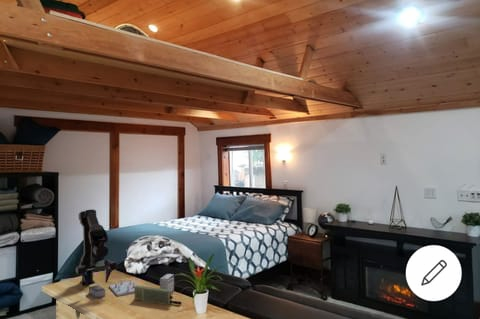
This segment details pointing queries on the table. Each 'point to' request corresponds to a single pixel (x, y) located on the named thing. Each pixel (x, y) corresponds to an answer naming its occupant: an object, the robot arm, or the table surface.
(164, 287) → the medicine box
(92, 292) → the block
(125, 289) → the pin cradle
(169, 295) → the handheld radio
